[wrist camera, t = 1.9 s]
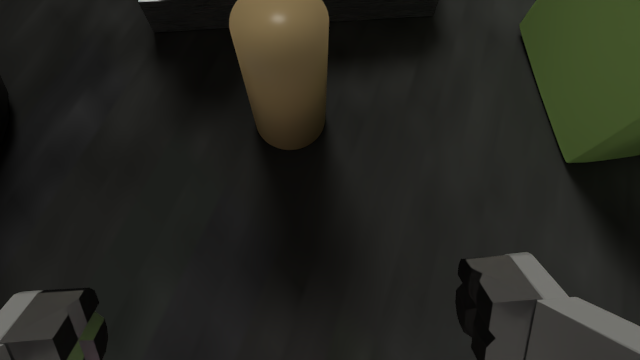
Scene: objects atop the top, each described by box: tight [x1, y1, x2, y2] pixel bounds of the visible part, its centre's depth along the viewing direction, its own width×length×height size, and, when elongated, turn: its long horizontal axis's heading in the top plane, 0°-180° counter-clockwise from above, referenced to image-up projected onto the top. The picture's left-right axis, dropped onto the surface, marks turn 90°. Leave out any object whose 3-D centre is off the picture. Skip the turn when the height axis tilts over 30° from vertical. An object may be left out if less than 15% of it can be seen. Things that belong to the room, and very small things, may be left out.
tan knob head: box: [229, 0, 329, 150], centre depth 25 cm, size 5×5×10 cm
